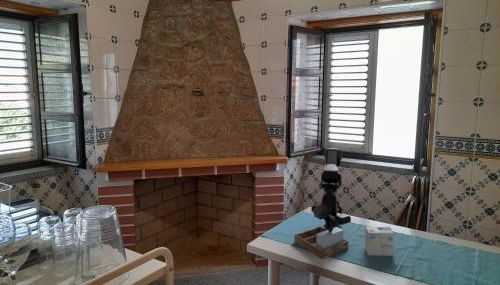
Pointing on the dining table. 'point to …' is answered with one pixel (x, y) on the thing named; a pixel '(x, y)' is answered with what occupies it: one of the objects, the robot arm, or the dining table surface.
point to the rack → (310, 243)
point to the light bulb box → (379, 241)
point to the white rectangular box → (329, 238)
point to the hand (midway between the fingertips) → (330, 231)
